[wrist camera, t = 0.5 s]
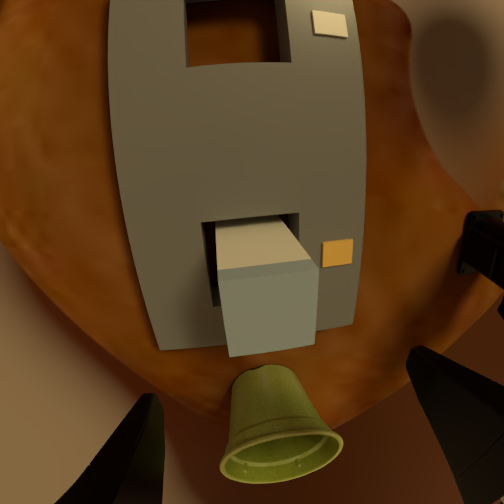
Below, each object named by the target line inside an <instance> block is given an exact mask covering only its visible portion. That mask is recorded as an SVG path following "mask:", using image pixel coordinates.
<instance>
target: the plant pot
mask: <svg viewBox="0 0 504 504" xmlns="http://www.w3.org/2000/svg"><path fill="white" fill-rule="evenodd" d="M342 447H343V440H342V438H341V437H340V435H338V434H337V433H336V432H334V431H331V429H330V428H329V426H328V425H327V424H326V423H324V422H323V421H322V420H321V418H320V416H319V415H318V413H317V411H316V410H315V408H314V406H313V405H312V403H311V401H310V400H309V398H308V396H307V394H306V393H305V391H304V389H303V387H302V386H301V384H300V382H299V380H298V379H297V377H296V375H295V374H294V373H293V372H292V371H291V370H290V369H288V368H286V367H284V366H280V365H263V366H262V367H260V368H257V369H254V370H247V371H245V372H244V373H242V374H241V375H240V376H238V377H237V379H236V380H235V382H234V383H233V386H232V397H231V414H230V429H229V442H228V444H227V446H226V450H225V455H224V456H223V458H222V459H221V461H220V471H221V472H222V474H223V475H224V476H226V477H228V478H229V479H232V480H235V481H238V482H243V483H253V484H256V483H258V484H261V483H274V482H282V481H287V480H291V479H294V478H298V477H301V476H304V475H306V474H309V473H311V472H313V471H316V470H318V469H320V468H322V467H323V466H325V465H326V464H328V463H329V462H331V461H332V460H333V459H334V458H336V456H337V455H338V454H339V453H340V452H341V450H342Z"/></svg>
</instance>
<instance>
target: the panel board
mask: <svg viewBox="0 0 504 504" xmlns="http://www.w3.org/2000/svg"><path fill="white" fill-rule="evenodd" d="M206 1H219V0H110V9H109V27H108V84H109V103H110V117H111V129H112V139H113V147H114V156H115V163H116V171H117V177H118V184H119V190H120V196H121V202H122V207H123V213H124V218H125V223H126V228H127V233H128V237H129V242H130V246H131V251H132V255H133V259H134V263H135V267H136V271H137V275H138V279H139V283H140V286H141V290H142V294H143V297H144V301H145V304H146V308H147V311H148V314H149V318H150V321H151V324H152V327H153V330H154V334H155V337H156V340H157V343H158V346H159V348H160V350H173V349H186V348H198V347H209V346H218V345H227V339H226V332H225V326H224V319H223V312H222V306H221V299H220V292H219V286H218V287H212V281H211V274H210V267H209V260H208V253H207V245H206V238H205V230H204V222H210V221H219V220H228V219H237V218H247V217H257V216H267V215H278V214H289V230H290V231H291V233H292V234H293V235H294V237H295V238H296V239H297V240H298V242H299V243H300V244H301V246H302V247H303V248H304V250H305V251H306V252H307V254H308V255H309V256H310V258H311V259H312V260H313V262H314V263H315V264H316V266H317V267H318V268H319V283H318V301H317V317H316V330H315V331H320V330H325V329H330V328H335V327H340V326H345V325H350V324H353V319H354V312H355V305H356V298H357V291H358V283H359V275H360V265H361V255H362V244H363V232H364V217H365V196H366V120H365V100H364V86H363V74H362V64H361V55H360V46H359V39H358V32H357V25H356V19H355V13H354V7H353V2H352V0H274V4H275V13H276V22H277V32H278V43H279V54H280V62H253V63H230V64H216V65H206V66H196V67H189V55H188V32H187V3H196V2H206Z"/></svg>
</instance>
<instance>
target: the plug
mask: <svg viewBox="0 0 504 504" xmlns="http://www.w3.org/2000/svg"><path fill="white" fill-rule="evenodd" d="M215 229H216V251H217V271H218V285H219V292H220V299H221V306H222V312H223V319H224V326H225V332H226V339H227V345H228V351H229V357H235V356H243V355H251V354H258V353H265V352H272V351H278V350H284V349H290V348H296V347H302V346H307V345H312V344H314V342H315V330H316V317H317V301H318V283H319V268H318V267H317V266H316V264H315V263H314V262H313V260H312V259H311V258H310V256H309V255H308V254H307V252H306V251H305V250H304V248H303V247H302V246H301V244H300V243H299V242H298V240H297V239H296V238H295V237H294V235H293V234H292V233H291V231H290V230H289V229H288V228H287V226H286V225H285V224H284V222H283V221H282V220H281V219H280V217H279V216H278V215H267V216H257V217H247V218H237V219H228V220H219V221H215Z"/></svg>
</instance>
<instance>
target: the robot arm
mask: <svg viewBox="0 0 504 504" xmlns="http://www.w3.org/2000/svg"><path fill="white" fill-rule="evenodd" d="M503 216H504V212H503V211H501V210H485V211H471V212H470V213H469V215H468V220H467V226H466V232H465V238H464V243H463V248H462V253H461V257H460V262H459V266H458V271H457V272H458V274H459V275H461V276H462V275H466V274H470V273H473V272H477V271H478V272H480V273H481V274H482V275H484V276H485V277H487V278H488V279H489V280H491V281H492V282H494V283H495V284H496V285H498V286H499V287H500V288H502V289H503V290H504V222H503ZM498 312H499V314H500V315H501V316H502V318H503V319H504V297H503V300H502V302H501V305H499V307H498ZM406 369H407V372H408V374H409V377H410V379H411V382H412V384H413V387H414V390H415V392H416V395H417V398H418V400H419V402H420V404H421V406H422V408H423V410H424V412H425V414H426V416H427V418H428V420H429V423H430V424H431V427H432V429H433V431H434V433H435V435H436V437H437V439H438V442H439V444H440V446H441V448H442V450H443V452H444V455H445V457H446V460H447V462H448V464H449V466H450V469H451V471H452V473H453V476H454V478H455V481H456V484H457V486H458V489H459V491H460V494H461V496H462V499H463V502H464V504H492V503H494V502H495V501H497V500H498V499H501V500H502V501H501V502H499V503H498V504H504V386H503V385H501V384H499V383H497V382H495V381H492V380H491V379H489V378H487V377H485V376H483V375H480V374H479V373H477V372H475V371H472V370H470V369H469V368H466V367H465V366H463V365H461V364H459V363H456V362H455V361H453V360H451V359H449V358H446V357H445V356H443V355H441V354H439V353H437V352H435V351H433V350H431V349H429V348H427V347H425V346H423V345H418V346H415V347H412V348H411V350H410V352H409V355H408V358H407V361H406ZM164 460H165V438H164V412H163V408H162V406H161V403H160V402H159V399H158V398H157V396H156V394H155V393H144V394H142V395H141V397H140V398H139V399H138V401H137V402H136V403H135V404H134V406H133V407H132V409H131V410H130V411H129V413H128V414H127V415H126V417H125V418H124V419H123V420H122V422H121V423H120V424H119V426H118V427H117V428H116V430H115V431H114V432H113V434H112V435H111V436H110V438H109V439H108V440H107V442H106V443H105V444H104V446H103V447H102V448H101V449H100V451H99V452H98V453H97V455H96V456H95V457H94V459H93V460H92V461H91V463H90V466H89V465H88V467H87V468H86V469H85V470H84V472H83V473H82V474H81V476H80V477H79V478H78V479H77V480H76V482H75V483H74V484H73V485H72V486H71V487H70V488H69V489H68V490H67V492H66V493H64V494H63V496H61V497H60V498H59V499H58V500H57V501H56V503H54V504H162V495H163V475H164Z"/></svg>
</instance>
